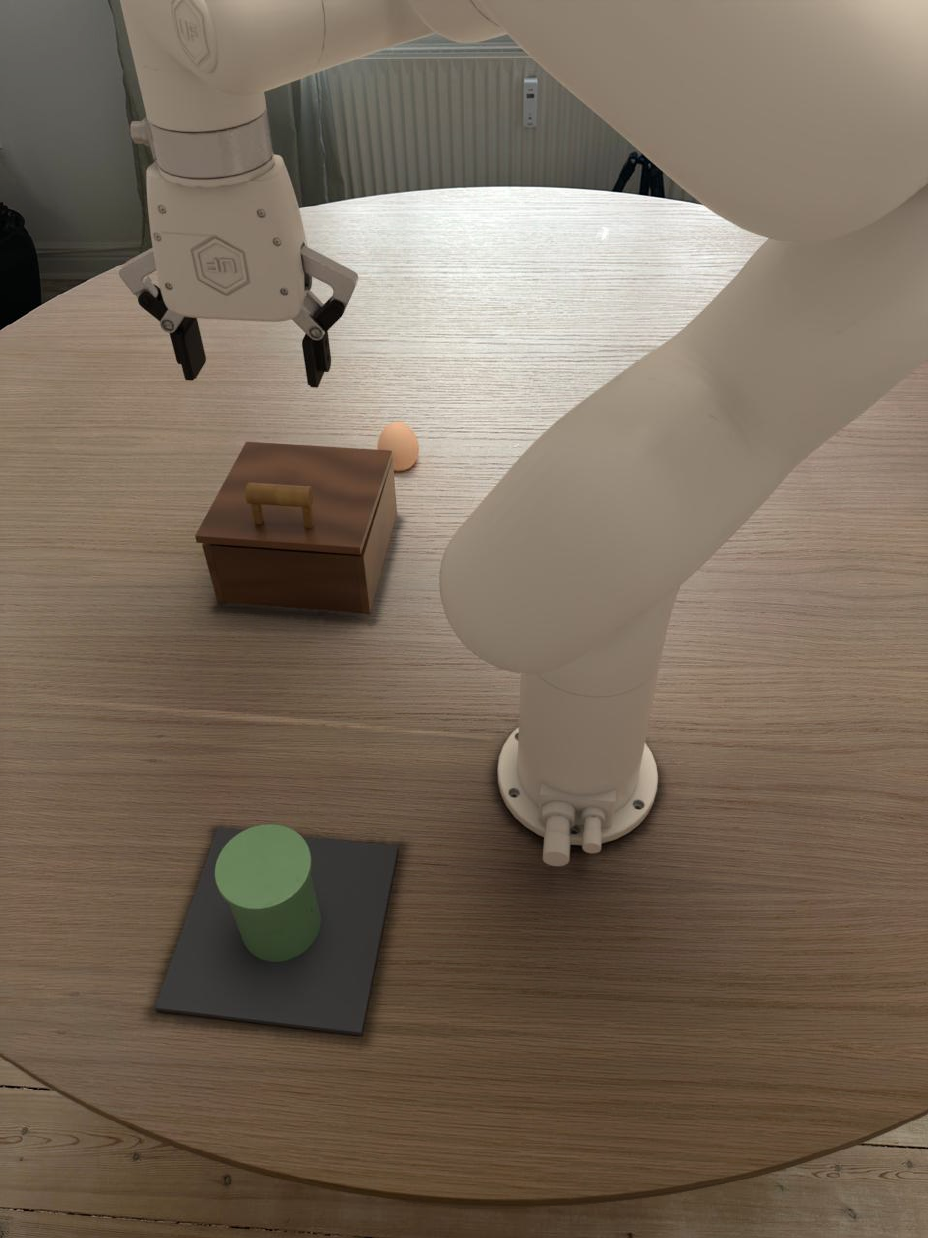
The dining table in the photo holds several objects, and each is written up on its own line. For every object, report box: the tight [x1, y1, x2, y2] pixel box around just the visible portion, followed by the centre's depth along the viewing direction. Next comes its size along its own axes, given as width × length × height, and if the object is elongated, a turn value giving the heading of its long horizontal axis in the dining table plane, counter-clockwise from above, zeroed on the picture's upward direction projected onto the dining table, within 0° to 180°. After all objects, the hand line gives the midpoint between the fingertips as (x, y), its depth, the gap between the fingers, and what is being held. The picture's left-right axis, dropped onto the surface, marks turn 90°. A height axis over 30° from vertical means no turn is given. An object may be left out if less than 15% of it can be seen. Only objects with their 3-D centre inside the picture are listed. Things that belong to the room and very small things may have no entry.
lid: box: [194, 441, 393, 555], centre depth 89 cm, size 15×15×5 cm
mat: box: [154, 827, 399, 1036], centre depth 70 cm, size 14×14×1 cm
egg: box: [376, 421, 420, 472], centre depth 105 cm, size 4×4×6 cm
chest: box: [201, 458, 398, 615], centre depth 94 cm, size 15×15×8 cm
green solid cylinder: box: [215, 823, 321, 962], centre depth 66 cm, size 6×6×8 cm
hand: (256, 374), depth 76 cm, fingers open, 9 cm apart
